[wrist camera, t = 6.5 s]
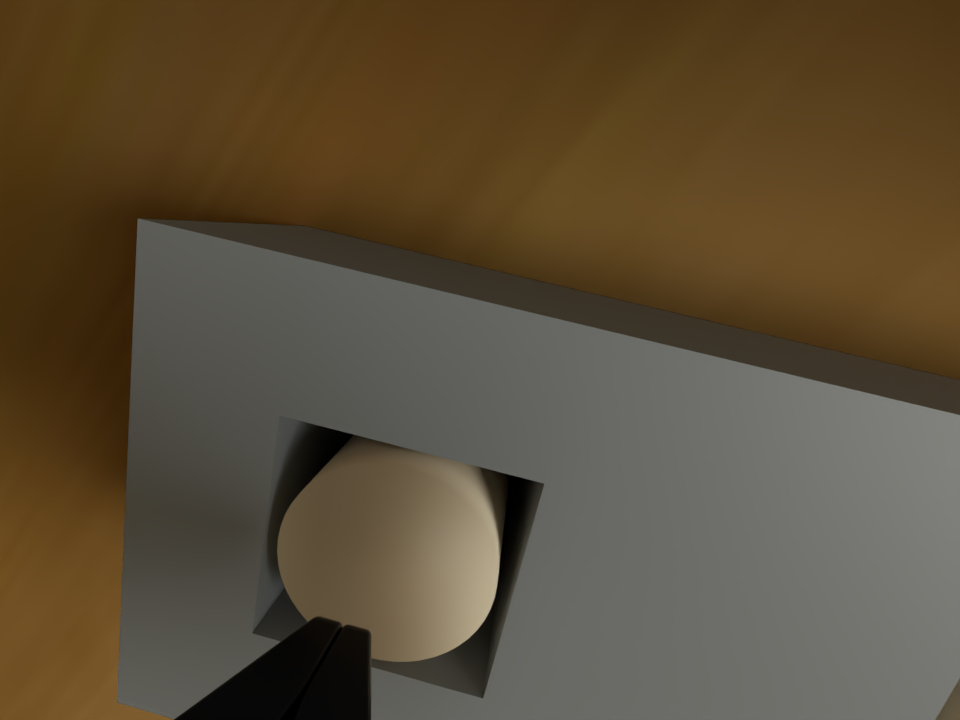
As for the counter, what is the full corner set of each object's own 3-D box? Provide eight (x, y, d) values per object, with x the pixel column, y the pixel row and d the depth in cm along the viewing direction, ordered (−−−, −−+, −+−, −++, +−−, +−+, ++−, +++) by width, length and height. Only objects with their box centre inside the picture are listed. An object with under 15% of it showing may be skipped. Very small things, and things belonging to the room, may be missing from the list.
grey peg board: (1141, 423, 13) (1653, 581, 7) (957, 724, 15) (1216, 1025, 9) (305, 225, 14) (137, 218, 8) (266, 537, 16) (116, 702, 11)
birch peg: (528, 390, 14) (521, 497, 8) (495, 513, 15) (470, 686, 9) (391, 356, 14) (291, 437, 8) (368, 480, 15) (266, 628, 10)
